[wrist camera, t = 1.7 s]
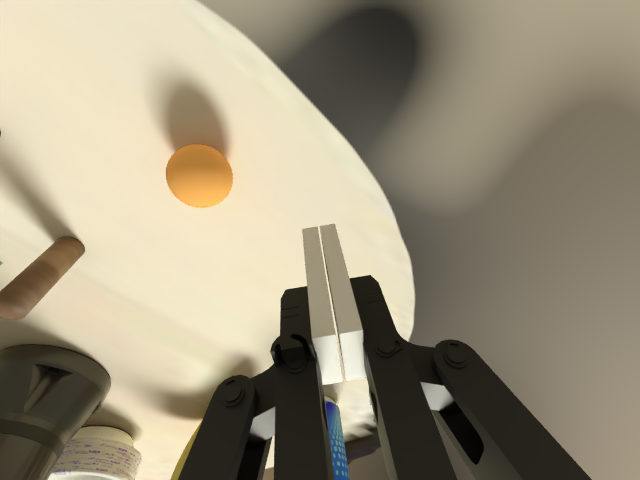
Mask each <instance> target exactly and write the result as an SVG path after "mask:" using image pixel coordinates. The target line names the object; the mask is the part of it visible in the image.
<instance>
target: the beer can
mask: <svg viewBox="0 0 640 480" xmlns="http://www.w3.org/2000/svg"><path fill="white" fill-rule="evenodd" d="M324 398H325V402H326V411H327V419H328V428H329V436H330V444H331V453H332V461H333V470H334V478H335V480H349V473H348V467H347V459H346V453H345V446H344V439H343V432H342V425H341V418H340V411H339V407H338V406H337V405H336V404H335V403H334V401H333V400H332V399H331V398H330V397H327V396H324Z"/></svg>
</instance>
